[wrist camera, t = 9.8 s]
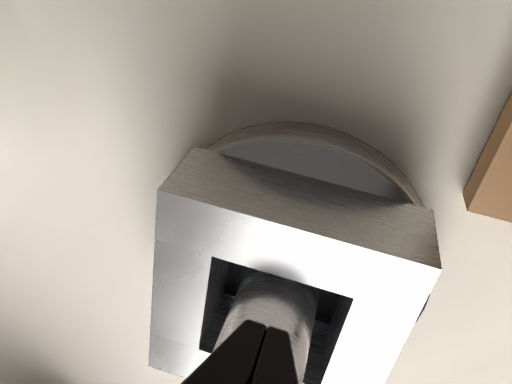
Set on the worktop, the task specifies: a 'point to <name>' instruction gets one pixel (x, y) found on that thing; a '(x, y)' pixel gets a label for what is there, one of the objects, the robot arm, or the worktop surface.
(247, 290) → the hub
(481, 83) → the worktop surface
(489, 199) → the stand
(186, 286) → the collar
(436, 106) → the worktop surface
